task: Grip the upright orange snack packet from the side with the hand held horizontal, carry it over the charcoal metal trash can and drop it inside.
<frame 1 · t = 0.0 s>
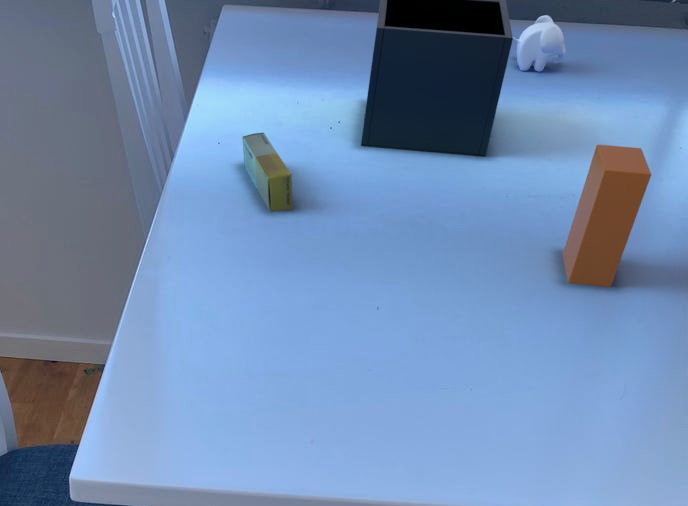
medication box: (265, 194, 103), on the table
trash can: (422, 134, 116), on the table
elephant figurine: (533, 70, 134), on the table
packet: (584, 276, 92), on the table
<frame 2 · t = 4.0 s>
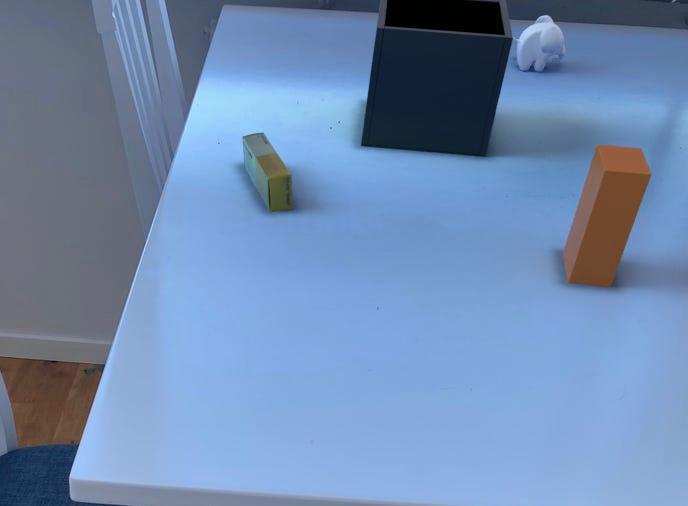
nothing on the table moved.
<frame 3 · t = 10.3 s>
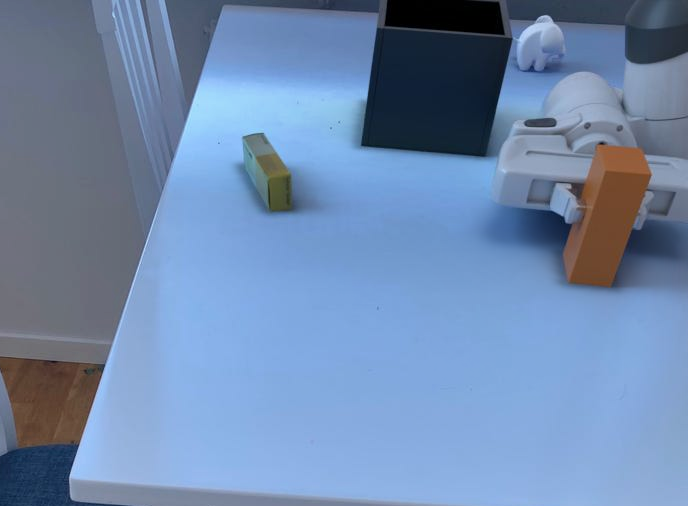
hand: (605, 218, 87), 6 cm above the table, tool horizontal, fingers closed on packet, 4 cm apart
packet: (584, 276, 92), on the table, touching gripper
everything else where it was.
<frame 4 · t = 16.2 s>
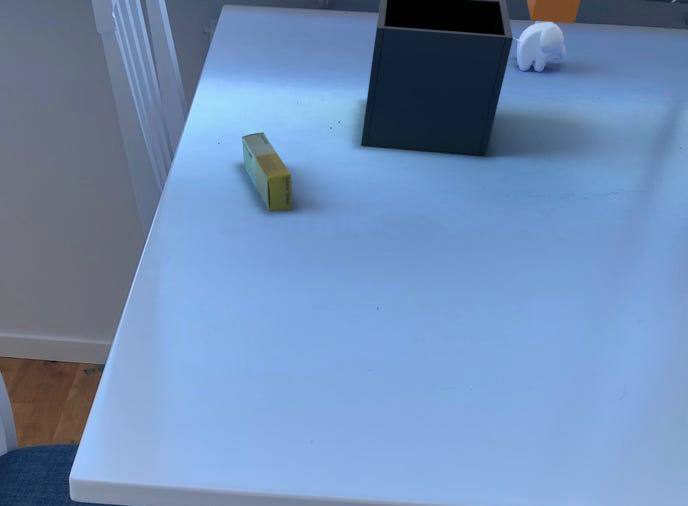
packet: (549, 13, 90), point 18 cm above the table, touching gripper
everything else where it was.
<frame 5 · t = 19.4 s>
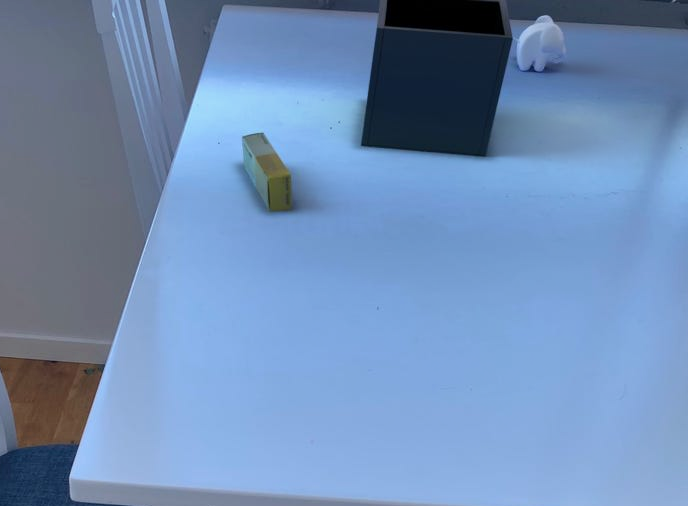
when the fingers open (16 cm above the table, at t = 22.3 s): packet drops 9 cm, resting on trash can.
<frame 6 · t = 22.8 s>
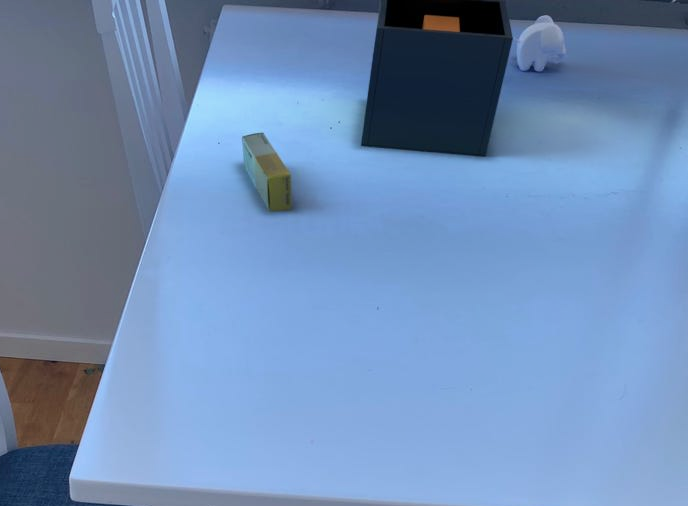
packet: (423, 127, 115), point 1 cm above the table, touching trash can
everything else where it was.
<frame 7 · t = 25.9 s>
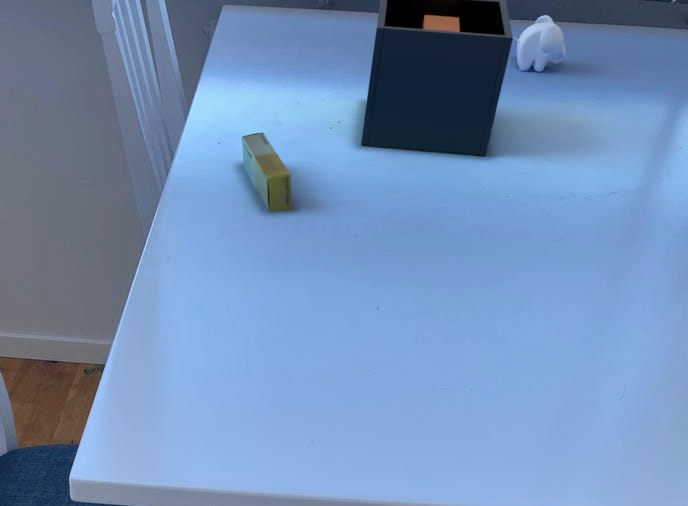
nothing on the table moved.
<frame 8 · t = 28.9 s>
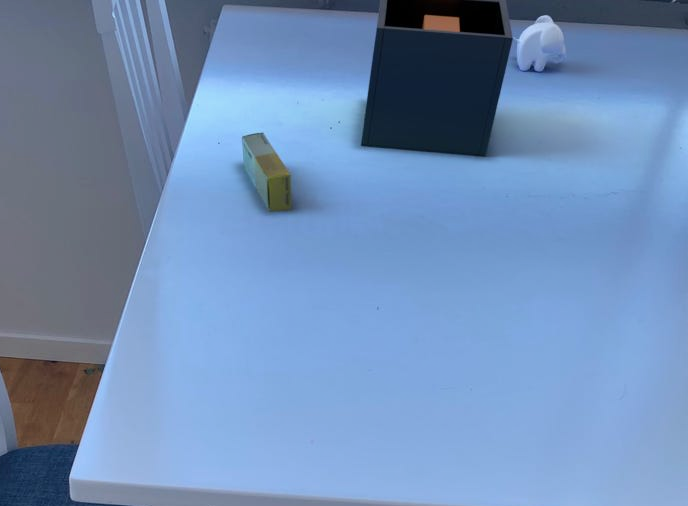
nothing on the table moved.
at the end: packet inside the target area in the trash can (0.0 cm from its centre), point 0.8 cm above the trash can's base; the gripper is holding nothing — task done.
